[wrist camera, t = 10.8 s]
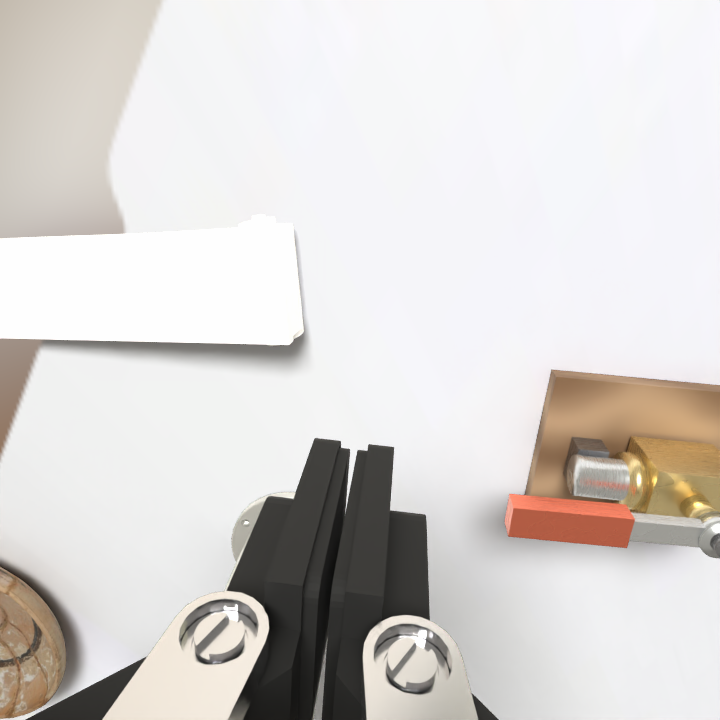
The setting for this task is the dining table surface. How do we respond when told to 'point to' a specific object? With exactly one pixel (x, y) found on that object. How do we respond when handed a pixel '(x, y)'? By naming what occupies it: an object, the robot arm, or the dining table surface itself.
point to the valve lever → (607, 524)
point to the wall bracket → (155, 286)
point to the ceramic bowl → (27, 649)
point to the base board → (616, 420)
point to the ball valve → (647, 475)
